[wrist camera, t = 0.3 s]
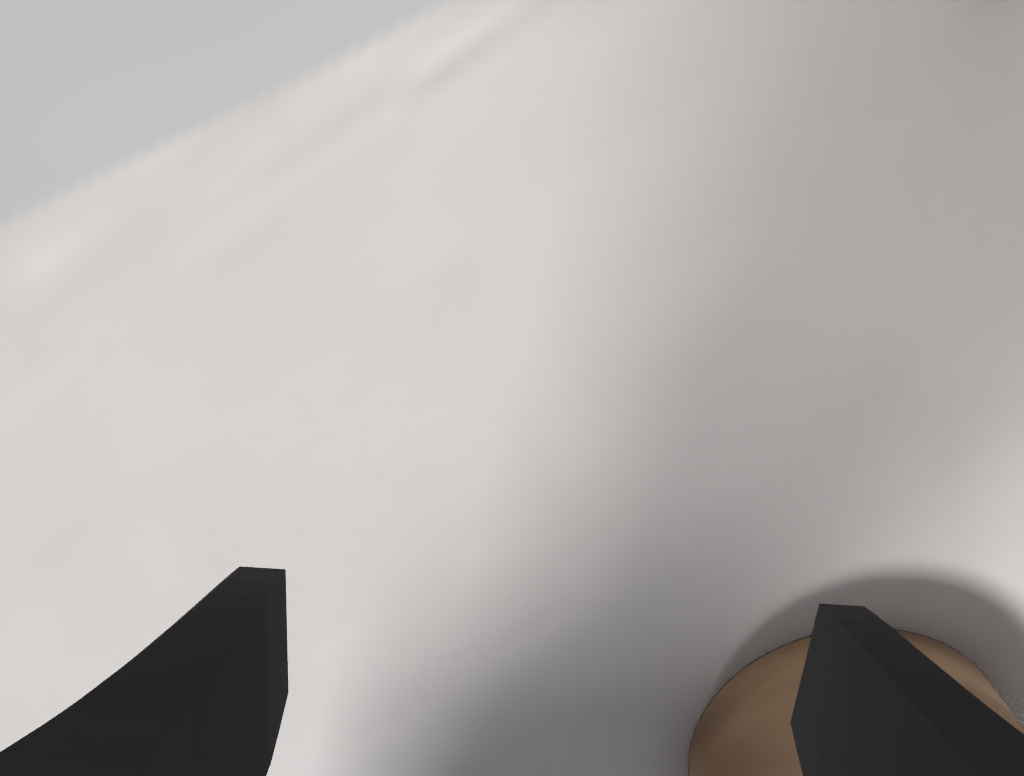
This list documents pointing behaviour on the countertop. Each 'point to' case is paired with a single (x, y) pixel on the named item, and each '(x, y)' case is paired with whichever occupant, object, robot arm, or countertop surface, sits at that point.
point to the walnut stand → (769, 706)
